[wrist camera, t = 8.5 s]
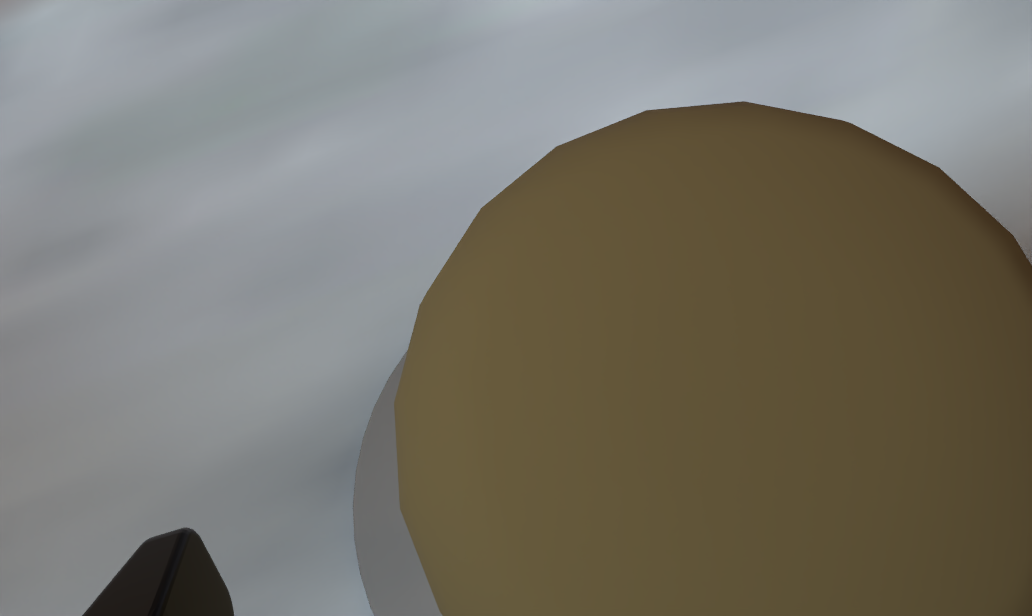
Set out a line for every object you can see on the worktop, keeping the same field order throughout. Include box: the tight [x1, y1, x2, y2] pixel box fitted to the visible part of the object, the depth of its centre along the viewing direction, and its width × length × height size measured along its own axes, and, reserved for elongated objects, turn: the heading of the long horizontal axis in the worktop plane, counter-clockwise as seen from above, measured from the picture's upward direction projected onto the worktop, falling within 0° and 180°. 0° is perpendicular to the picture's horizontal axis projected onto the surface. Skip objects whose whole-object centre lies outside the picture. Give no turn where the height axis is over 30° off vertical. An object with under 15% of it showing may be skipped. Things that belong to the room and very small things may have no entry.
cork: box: [394, 102, 1032, 616], centre depth 11 cm, size 6×6×11 cm
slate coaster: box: [353, 351, 443, 616], centre depth 17 cm, size 9×9×1 cm
